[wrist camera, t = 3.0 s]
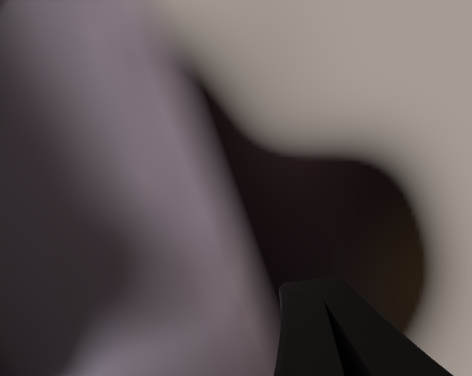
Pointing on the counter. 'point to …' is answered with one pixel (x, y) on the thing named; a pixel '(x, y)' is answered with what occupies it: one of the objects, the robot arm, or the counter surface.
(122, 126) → the counter surface
